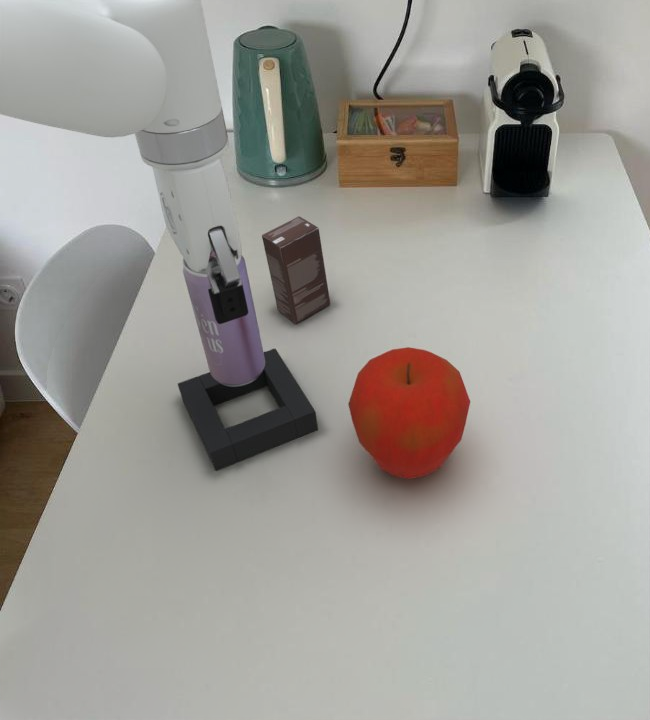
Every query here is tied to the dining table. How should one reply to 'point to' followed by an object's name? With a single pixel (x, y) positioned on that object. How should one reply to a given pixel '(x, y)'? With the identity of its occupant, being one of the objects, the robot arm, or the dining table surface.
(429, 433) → the apple
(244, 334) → the beverage can
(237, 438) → the socket pad
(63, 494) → the dining table surface
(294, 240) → the box
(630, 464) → the dining table surface
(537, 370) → the dining table surface
